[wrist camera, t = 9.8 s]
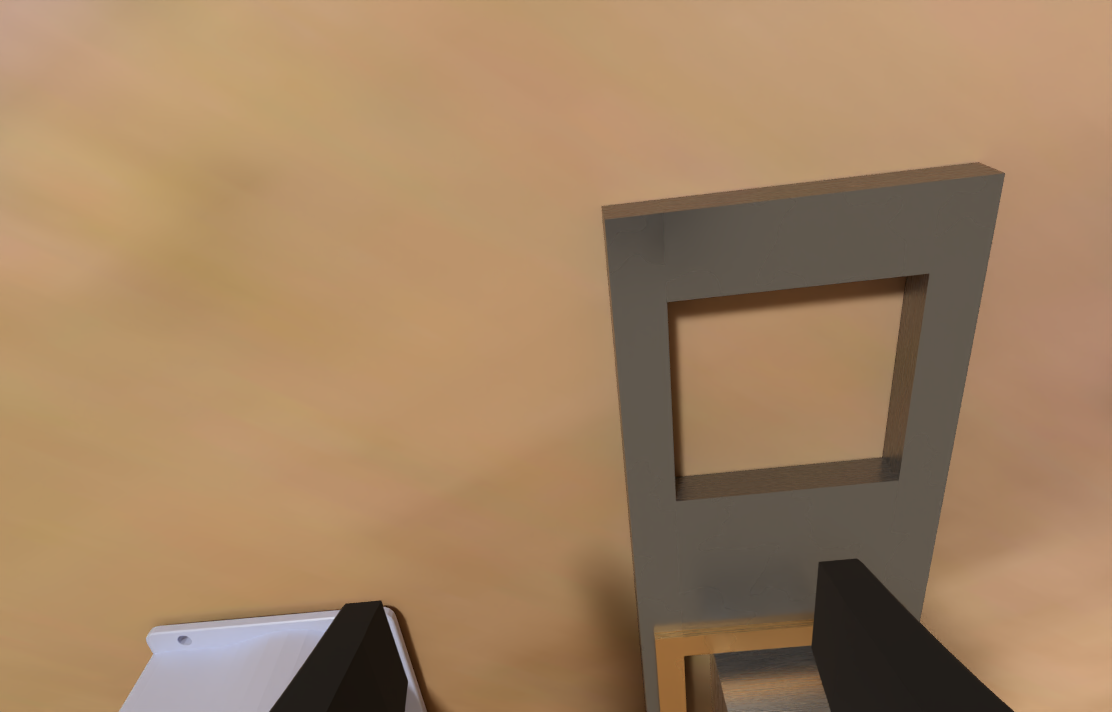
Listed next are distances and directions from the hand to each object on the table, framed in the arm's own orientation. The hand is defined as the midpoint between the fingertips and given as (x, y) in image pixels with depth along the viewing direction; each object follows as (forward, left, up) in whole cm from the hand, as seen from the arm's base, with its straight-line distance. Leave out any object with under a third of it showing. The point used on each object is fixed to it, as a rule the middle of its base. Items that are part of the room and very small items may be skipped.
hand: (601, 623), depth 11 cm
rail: (+6, -9, -10) cm, 15 cm away
